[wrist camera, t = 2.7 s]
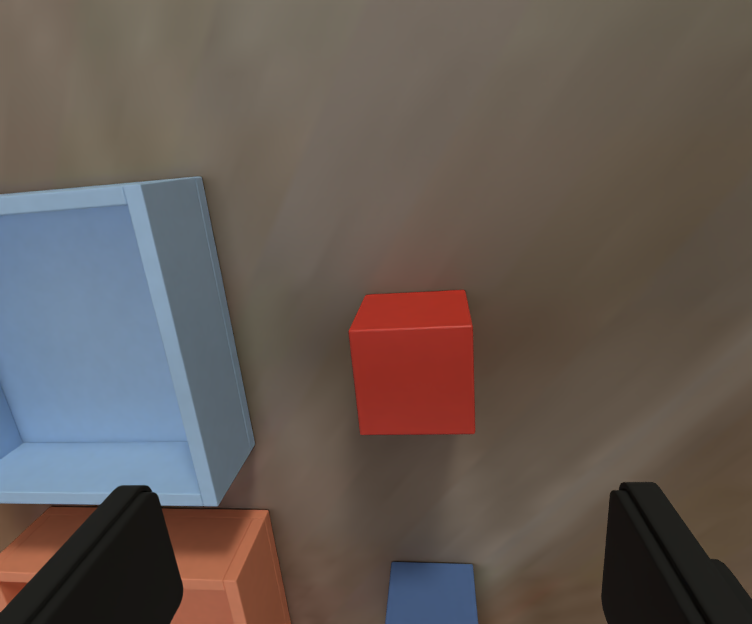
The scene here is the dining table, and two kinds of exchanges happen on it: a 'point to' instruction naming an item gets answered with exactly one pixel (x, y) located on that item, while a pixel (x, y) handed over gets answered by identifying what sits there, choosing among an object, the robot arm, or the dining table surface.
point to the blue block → (431, 594)
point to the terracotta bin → (179, 562)
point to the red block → (414, 364)
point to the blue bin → (116, 347)
